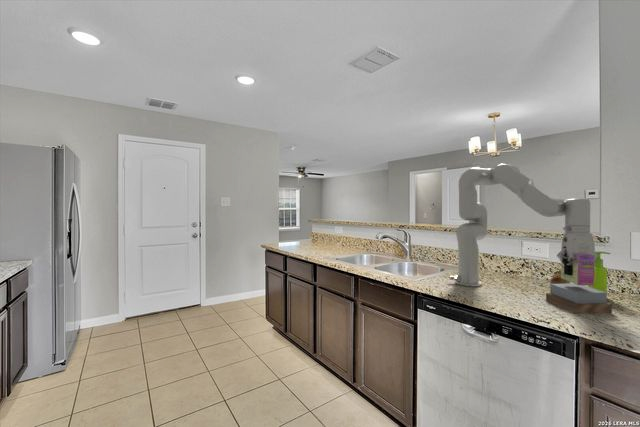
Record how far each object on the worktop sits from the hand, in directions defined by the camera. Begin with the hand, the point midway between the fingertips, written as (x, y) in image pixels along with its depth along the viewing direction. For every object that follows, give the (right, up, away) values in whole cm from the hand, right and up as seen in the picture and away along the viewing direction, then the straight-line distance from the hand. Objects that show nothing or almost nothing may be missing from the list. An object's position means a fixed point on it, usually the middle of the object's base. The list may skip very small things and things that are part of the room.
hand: (577, 274), depth 117 cm
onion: (+16, -12, +28) cm, 34 cm away
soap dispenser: (+20, -13, +12) cm, 26 cm away
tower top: (0, -10, 0) cm, 10 cm away
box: (0, -3, 0) cm, 3 cm away
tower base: (0, -14, 0) cm, 14 cm away
